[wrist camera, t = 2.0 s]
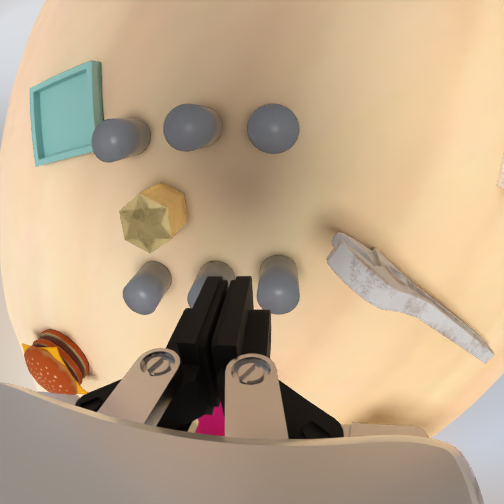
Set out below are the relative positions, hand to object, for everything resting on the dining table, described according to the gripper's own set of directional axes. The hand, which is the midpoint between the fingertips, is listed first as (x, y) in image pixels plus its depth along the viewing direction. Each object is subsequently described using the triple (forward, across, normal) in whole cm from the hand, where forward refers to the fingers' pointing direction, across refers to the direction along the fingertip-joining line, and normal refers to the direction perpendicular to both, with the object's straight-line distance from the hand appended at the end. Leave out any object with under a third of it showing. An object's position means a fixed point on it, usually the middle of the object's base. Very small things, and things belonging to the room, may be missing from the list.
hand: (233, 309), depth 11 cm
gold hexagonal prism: (+13, +8, -1) cm, 16 cm away
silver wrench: (+14, -17, +9) cm, 24 cm away
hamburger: (+14, +29, +19) cm, 37 cm away
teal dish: (+13, +17, -11) cm, 24 cm away
